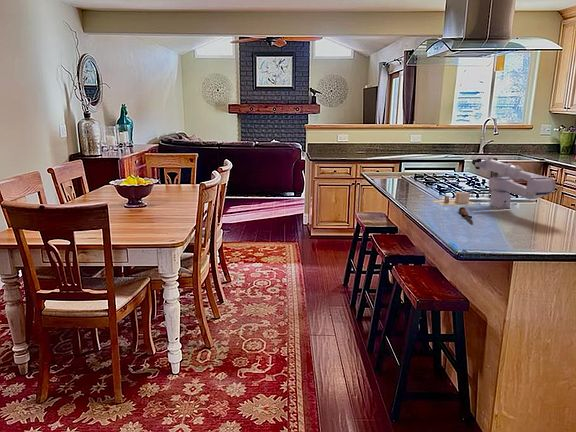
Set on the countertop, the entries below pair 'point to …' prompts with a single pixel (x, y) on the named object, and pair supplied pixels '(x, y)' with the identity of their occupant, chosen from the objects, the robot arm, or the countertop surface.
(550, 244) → the countertop surface
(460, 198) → the slotted knob
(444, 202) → the shaft board
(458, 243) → the countertop surface
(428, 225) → the countertop surface
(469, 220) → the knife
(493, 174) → the coffee box
